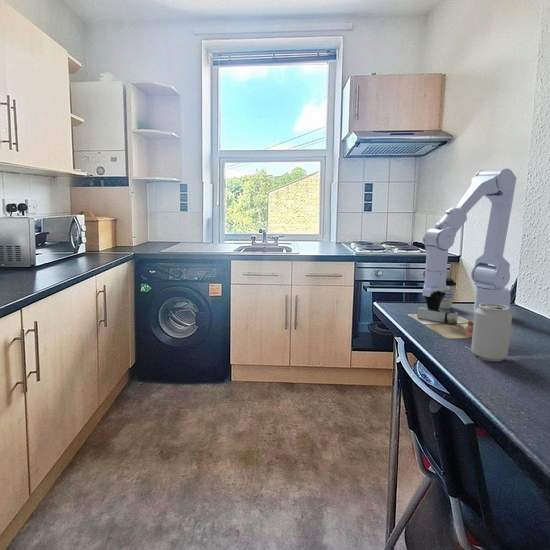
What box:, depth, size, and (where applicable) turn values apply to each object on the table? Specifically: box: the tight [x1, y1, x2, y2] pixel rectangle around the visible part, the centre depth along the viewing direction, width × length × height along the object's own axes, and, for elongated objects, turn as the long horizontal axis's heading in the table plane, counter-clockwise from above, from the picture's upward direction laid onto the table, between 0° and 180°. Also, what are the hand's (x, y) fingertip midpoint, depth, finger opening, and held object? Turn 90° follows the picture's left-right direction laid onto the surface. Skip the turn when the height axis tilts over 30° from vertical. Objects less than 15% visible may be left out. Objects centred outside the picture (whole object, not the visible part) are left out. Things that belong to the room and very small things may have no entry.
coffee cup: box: [439, 277, 458, 310], centre depth 140 cm, size 7×7×10 cm
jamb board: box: [406, 309, 474, 340], centre depth 121 cm, size 15×23×5 cm, turn 8°
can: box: [470, 303, 513, 362], centre depth 98 cm, size 8×8×12 cm
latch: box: [416, 306, 459, 324], centre depth 124 cm, size 11×3×3 cm, turn 50°
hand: (432, 316), depth 127 cm, fingers closed
